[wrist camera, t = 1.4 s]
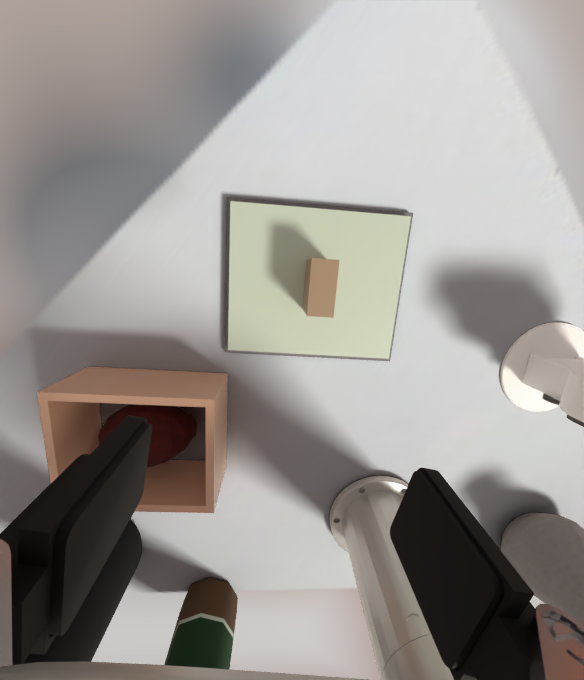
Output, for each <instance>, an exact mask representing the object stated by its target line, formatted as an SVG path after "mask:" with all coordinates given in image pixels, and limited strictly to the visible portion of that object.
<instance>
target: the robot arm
mask: <svg viewBox="0 0 584 680" xmlns="http://www.w3.org/2000/svg"><path fill="white" fill-rule="evenodd" d="M147 422H148V421H147V419H146V418H141V417H135V416H127V417H126V418H125V419H124V420H123V421H122V422H121V423H120V424H119V425H118V426H117V427H116V428H115V429H114V430H113V431H112V432H111V433H110V434H109V435H108V436H107V437H106V438H105V439H104V440H103V441H102V443H101V444H100V445H99V446H98V447H97V448H96V449H95V450H94V451H93V452H92V453H91V454H90V455H89V454H82V455H80V456H79V457H78V458H76V459H75V460H74V461H73V462H72V463H71V464H70V465H69V466H68V467H67V468H66V469H65V470H64V471H63V472H62V473H61V474H60V475H59V476H58V477H57V478H56V479H55V480H54V481H53V482H52V483H51V484H50V485H49V486H48V487H47V488H46V489H45V490H44V491H43V492H42V493H41V494H40V495H39V496H38V497H37V498H36V499H35V500H34V501H33V502H32V503H31V504H30V505H29V506H28V507H27V508H26V509H25V510H24V511H23V512H22V513H21V514H20V515H19V516H18V517H17V518H16V519H15V520H14V521H13V522H12V523H11V524H10V525H9V526H8V527H7V528H6V529H5V530H4V531H3V532H2V533H1V534H0V680H367V679H353V678H340V677H326V676H313V675H300V674H286V673H271V672H257V671H243V670H228V669H214V668H199V667H184V666H169V665H150V664H128V663H126V664H125V663H106V662H36V663H27V664H23V663H24V662H25V660H26V659H27V657H28V655H29V654H42V655H45V654H46V652H47V650H48V648H49V647H50V645H51V643H52V642H53V640H54V638H55V637H56V635H60V636H63V635H64V634H65V633H66V631H67V630H68V628H69V627H70V625H71V623H72V621H73V620H74V618H75V616H76V614H77V613H78V611H79V609H80V607H81V605H82V604H83V602H84V600H85V598H86V597H87V595H88V593H89V591H90V589H91V588H92V586H93V584H94V582H95V581H96V579H97V577H98V575H99V573H100V572H101V570H102V568H103V566H104V565H105V563H106V561H107V559H108V557H109V556H110V554H111V552H112V550H113V549H114V547H115V545H116V543H117V541H118V540H119V538H120V536H121V534H122V533H123V531H124V529H125V527H126V525H127V524H128V522H129V520H130V518H131V516H132V515H133V513H134V511H135V509H136V508H137V506H138V504H139V502H140V500H141V497H142V494H143V490H144V483H145V476H146V469H147V462H148V455H149V447H150V440H151V433H152V424H147ZM329 517H330V527H331V531H332V534H333V537H334V539H335V540H336V542H337V543H338V544H339V546H341V547H342V548H343V549H344V550H345V551H347V552H349V555H350V559H351V563H352V567H353V571H354V575H355V579H356V584H357V588H358V592H359V595H360V600H361V604H362V607H363V612H364V616H365V619H366V624H367V628H368V631H369V635H370V640H371V644H372V648H373V652H374V656H375V660H376V664H377V668H378V672H379V676H380V680H584V627H583V626H582V625H581V624H580V623H579V622H577V621H576V620H575V619H573V618H572V617H571V616H569V615H568V614H567V613H565V612H563V611H562V610H560V609H558V608H556V607H554V606H551V605H548V604H539V605H538V606H537V607H536V608H534V607H533V606H532V604H531V603H530V602H529V601H530V600H531V598H532V597H533V595H534V592H533V591H532V590H531V589H530V587H529V586H528V585H527V583H526V582H525V581H524V580H523V578H522V577H521V576H520V575H519V573H518V572H517V571H516V569H515V568H514V567H513V566H512V564H511V563H510V562H509V561H508V559H507V558H506V557H505V556H504V554H503V553H502V552H501V550H500V549H499V548H498V547H497V545H496V544H495V543H494V542H493V540H492V539H491V538H490V536H489V535H488V534H487V533H486V531H485V530H484V529H483V528H482V526H481V525H480V524H479V522H478V521H477V520H476V519H475V517H474V516H473V515H472V514H471V512H470V511H469V510H468V508H467V507H466V506H465V505H464V503H463V502H462V501H461V500H460V498H459V497H458V496H457V494H456V493H455V492H454V491H453V489H452V488H451V487H450V486H449V484H448V483H447V482H446V480H445V479H444V478H443V477H442V475H441V474H440V473H439V472H438V471H436V470H432V469H426V468H419V469H418V471H415V472H414V473H413V475H412V477H411V480H410V482H409V485H408V484H407V483H405V482H404V481H402V480H400V479H397V478H394V477H389V476H372V477H367V478H364V479H360V480H358V481H356V482H354V483H352V484H350V485H349V486H348V487H346V488H345V489H344V490H343V491H342V492H341V493H340V494H339V495H338V496H337V498H336V499H335V501H334V503H333V505H332V507H331V511H330V516H329Z"/></svg>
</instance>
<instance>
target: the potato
mask: <svg viewBox="0 0 584 680" xmlns="http://www.w3.org/2000/svg"><path fill="white" fill-rule="evenodd" d="M127 416H135V417H141V418H146V419H147V421H148V422H147V424H152V433H151V440H150V447H149V455H148V462H147V467H153V466H156V465H159V464H162V463H165V462H167V461H168V460H170V459H171V458H173V457H174V456H176V455H177V454H179V453H180V452H182V451H183V450H184V449H185V448H186V447H187V446H188V444H189V443H190V441H191V440H192V439H193V437H194V436H195V435H196V430H197V422H196V420H195V419H194V417H193V416H192V415H191V414H190V413H188V412H186V411H185V410H183V409H182V408H179V407H177V406H162V405H138V404H130V405H128V406H126V407H124V408H122V409H120V410H118V411H117V412H115V413H114V414H113V415H112V416H110V417H109V418H108V420H107V421H106V423H105V424H104V425H103V427H102V428H101V430H100V433H99V436H98V440H99V445H100V444H101V443H102V441H103V440H104V439H105V438H106V437H107V436H108V435H109V434H110V433H111V432H112V431H113V430H114V429H115V428H116V427H117V426H118V425H119V424H120V423H121V422H122V421H123V420H124V419H125V418H126V417H127Z"/></svg>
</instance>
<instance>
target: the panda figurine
mask: <svg viewBox="0 0 584 680" xmlns="http://www.w3.org/2000/svg"><path fill="white" fill-rule="evenodd" d="M500 380H501V386H502V389H503V391H504V393H505V395H506V397H507V398H508V399H509V400H510V401H511V402H512V403H513V404H515V405H517V406H518V407H520V408H522V409H525V410H528V411H547V410H551V409H554V408H557V407H559V406H560V408H561V409H562V410H563V411H564V412H565V413H566V414H567V418H568V419H570V420H571V421H573V422H575V423H577V424H579V425H581V426H583V427H584V331H582V330H581V329H580V328H578V327H576V326H574V325H571V324H567V323H560V322H552V323H546V324H542V325H539V326H536V327H534V328H532V329H530V330H529V331H527V332H526V333H524V334H523V335H522V336H520V337H519V338H518V339H517V340H516V341H515V342H514V343H513V344H512V346H511V347H510V349H509V350H508V352H507V353H506V355H505V357H504V360H503V363H502V366H501V372H500Z"/></svg>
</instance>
